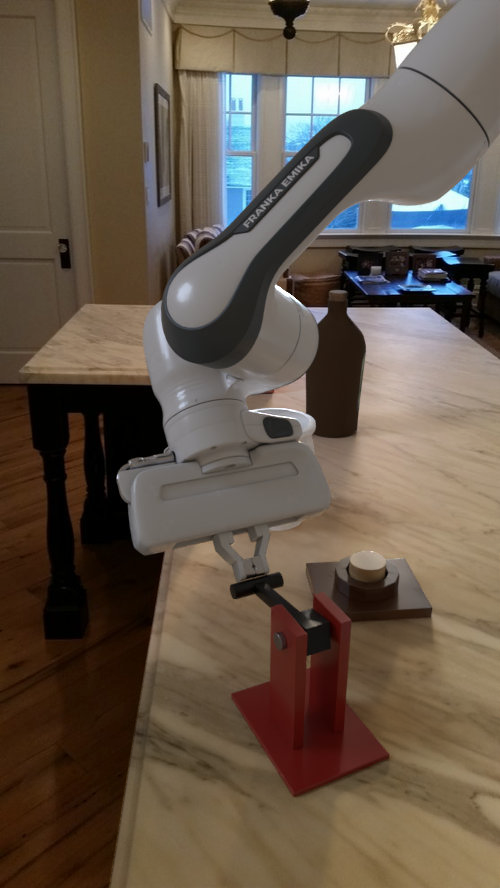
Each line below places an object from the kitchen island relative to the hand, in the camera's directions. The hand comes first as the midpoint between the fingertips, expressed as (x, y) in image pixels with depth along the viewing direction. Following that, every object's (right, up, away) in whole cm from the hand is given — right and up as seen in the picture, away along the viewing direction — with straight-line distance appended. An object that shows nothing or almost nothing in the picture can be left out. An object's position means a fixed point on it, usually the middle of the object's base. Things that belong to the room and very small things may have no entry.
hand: (253, 577), depth 67 cm
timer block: (+13, -5, +13) cm, 19 cm away
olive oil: (+15, +15, +63) cm, 66 cm away
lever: (+3, -3, -5) cm, 6 cm away
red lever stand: (+5, -13, -5) cm, 14 cm away
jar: (+3, +2, +30) cm, 30 cm away
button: (+13, -2, +12) cm, 18 cm away
